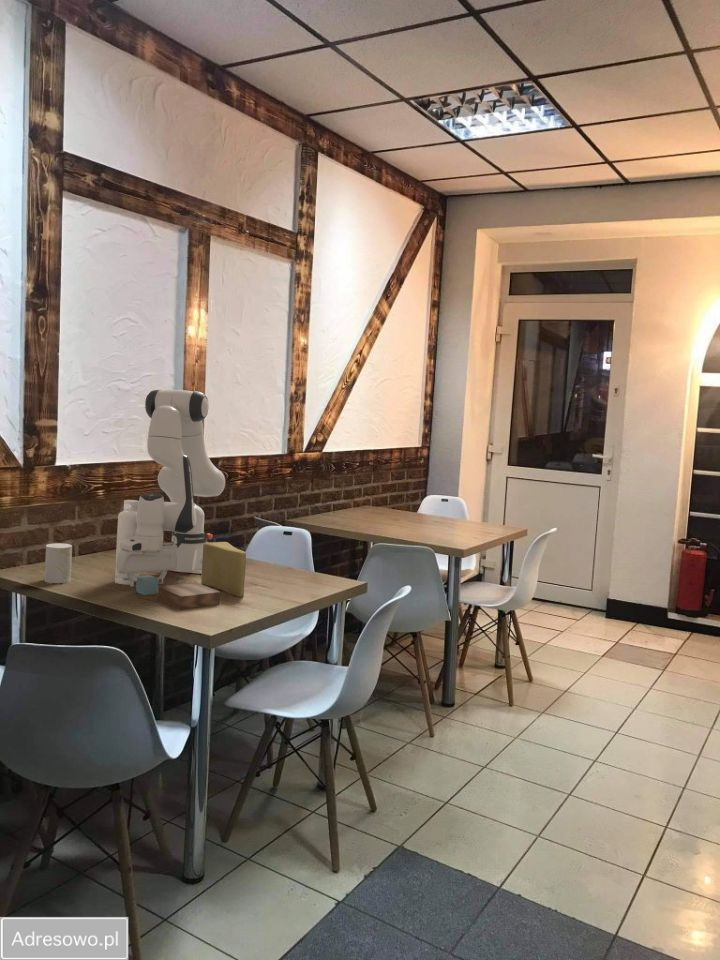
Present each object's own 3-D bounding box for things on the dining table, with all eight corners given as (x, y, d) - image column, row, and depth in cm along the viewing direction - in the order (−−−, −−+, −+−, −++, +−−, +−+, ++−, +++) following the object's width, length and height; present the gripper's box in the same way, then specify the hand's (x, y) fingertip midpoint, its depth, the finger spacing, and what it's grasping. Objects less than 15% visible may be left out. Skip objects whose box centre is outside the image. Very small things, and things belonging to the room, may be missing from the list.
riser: (196, 594, 262) (196, 582, 261) (219, 604, 252) (220, 591, 251) (157, 598, 252) (158, 586, 252) (180, 609, 242) (181, 596, 242)
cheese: (254, 596, 266) (257, 552, 264) (228, 598, 260) (231, 553, 259) (225, 581, 284) (227, 540, 282) (200, 583, 278) (202, 541, 276)
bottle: (144, 581, 274) (148, 501, 271) (128, 585, 266) (132, 503, 264) (125, 577, 277) (130, 498, 275) (109, 581, 270) (113, 500, 267)
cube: (150, 590, 263) (150, 575, 263) (157, 593, 259) (158, 578, 259) (136, 591, 260) (137, 576, 259) (143, 595, 256) (144, 579, 256)
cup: (61, 584, 261) (63, 548, 260) (39, 581, 262) (40, 546, 261) (75, 579, 269) (76, 545, 268) (53, 577, 270) (55, 542, 269)
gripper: (172, 540, 267) (170, 580, 268) (115, 543, 253) (113, 585, 254) (182, 543, 263) (179, 584, 264) (124, 546, 249) (122, 589, 250)
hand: (146, 584), depth 259 cm, fingers open, 8 cm apart
